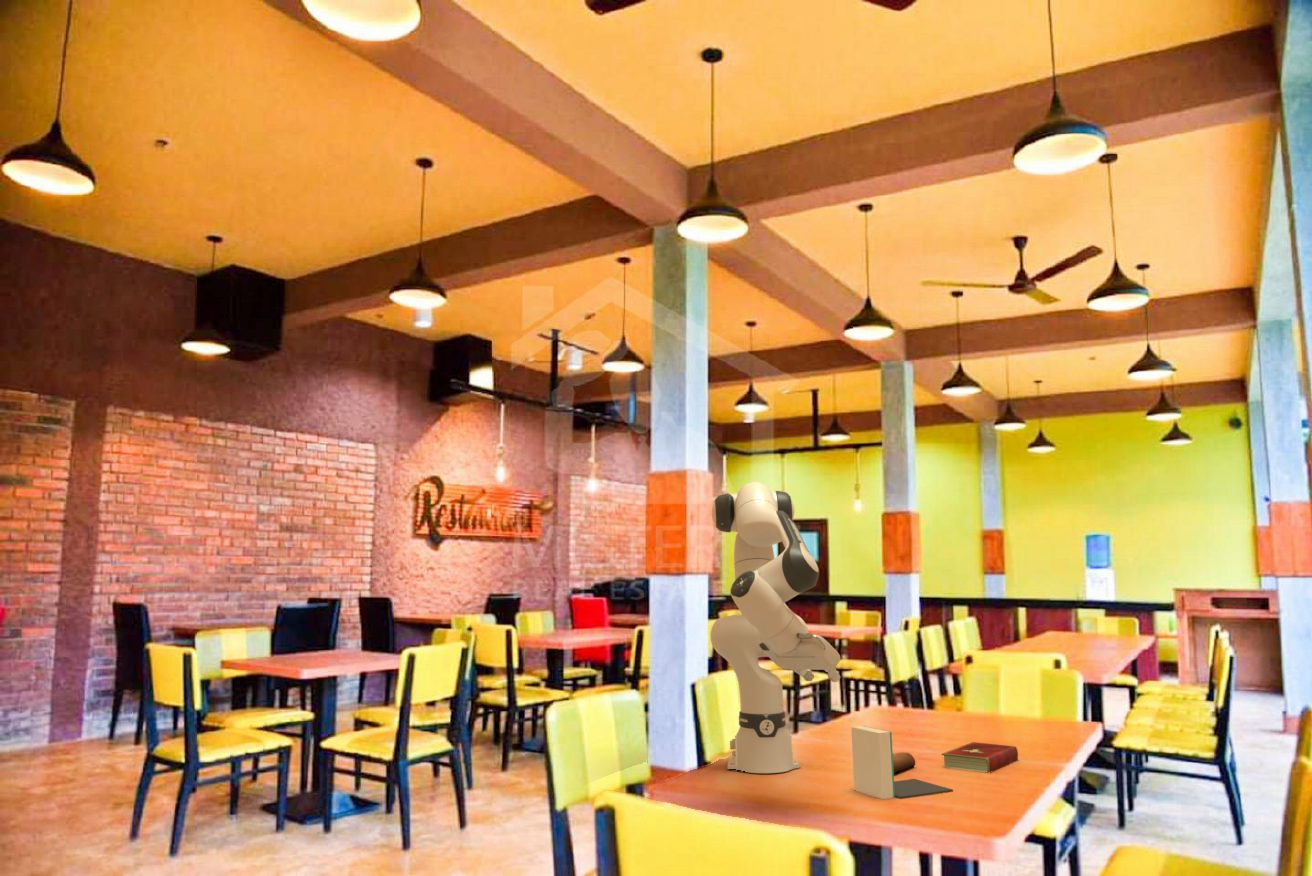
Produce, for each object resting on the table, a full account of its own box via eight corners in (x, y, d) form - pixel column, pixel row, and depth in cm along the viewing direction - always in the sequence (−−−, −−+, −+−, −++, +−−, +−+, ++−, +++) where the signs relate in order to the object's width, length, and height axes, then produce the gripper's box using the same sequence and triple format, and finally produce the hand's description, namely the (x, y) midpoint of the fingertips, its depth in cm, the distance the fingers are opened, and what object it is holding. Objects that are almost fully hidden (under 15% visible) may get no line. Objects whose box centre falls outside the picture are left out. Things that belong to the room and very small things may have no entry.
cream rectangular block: (882, 799, 198) (878, 733, 200) (854, 790, 207) (851, 727, 209) (895, 797, 199) (891, 731, 202) (866, 788, 208) (863, 725, 211)
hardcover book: (1018, 762, 239) (1017, 745, 240) (989, 775, 223) (988, 757, 224) (973, 757, 246) (972, 740, 247) (942, 769, 231) (941, 752, 231)
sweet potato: (884, 763, 237) (895, 741, 236) (907, 780, 232) (919, 758, 231) (853, 775, 223) (865, 752, 222) (877, 794, 219) (889, 770, 217)
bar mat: (900, 798, 198) (900, 796, 198) (863, 787, 210) (863, 785, 210) (953, 791, 204) (952, 789, 204) (914, 780, 216) (914, 778, 216)
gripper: (822, 622, 193) (861, 669, 195) (768, 626, 210) (804, 668, 212) (806, 644, 190) (845, 691, 192) (752, 645, 207) (789, 688, 209)
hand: (823, 679), depth 202 cm, fingers open, 8 cm apart
